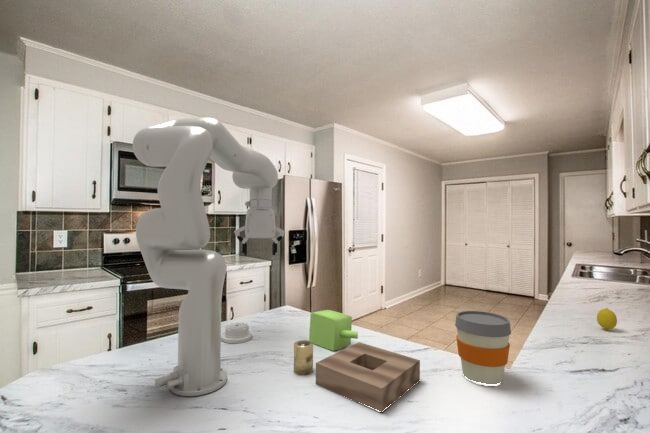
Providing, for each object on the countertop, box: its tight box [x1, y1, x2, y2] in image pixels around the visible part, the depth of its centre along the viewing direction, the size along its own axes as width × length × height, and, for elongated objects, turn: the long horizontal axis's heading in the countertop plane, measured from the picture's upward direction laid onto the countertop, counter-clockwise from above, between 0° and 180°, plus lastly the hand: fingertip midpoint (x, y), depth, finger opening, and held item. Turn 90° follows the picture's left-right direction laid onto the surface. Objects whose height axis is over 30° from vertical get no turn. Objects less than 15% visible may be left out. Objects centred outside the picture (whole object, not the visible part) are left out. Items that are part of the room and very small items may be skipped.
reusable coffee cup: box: [454, 310, 512, 384], centre depth 81 cm, size 13×13×15 cm
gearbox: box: [308, 309, 359, 351], centre depth 103 cm, size 18×10×10 cm, turn 46°
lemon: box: [596, 307, 618, 331], centre depth 118 cm, size 6×6×8 cm
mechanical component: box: [221, 322, 253, 344], centre depth 107 cm, size 10×4×10 cm
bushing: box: [293, 339, 314, 376], centre depth 84 cm, size 5×5×7 cm
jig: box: [315, 341, 421, 412], centre depth 78 cm, size 18×18×5 cm
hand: (259, 255), depth 112 cm, fingers open, 9 cm apart
